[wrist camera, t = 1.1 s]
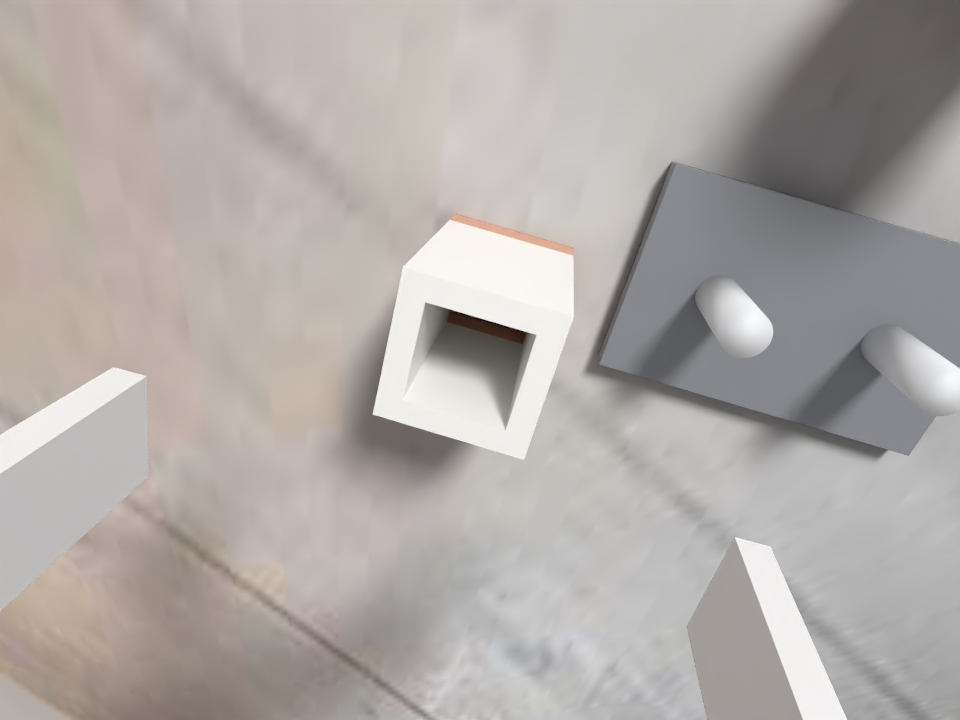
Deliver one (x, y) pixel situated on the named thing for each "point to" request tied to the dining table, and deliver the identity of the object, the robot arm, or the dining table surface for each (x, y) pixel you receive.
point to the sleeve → (477, 335)
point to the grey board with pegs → (792, 310)
